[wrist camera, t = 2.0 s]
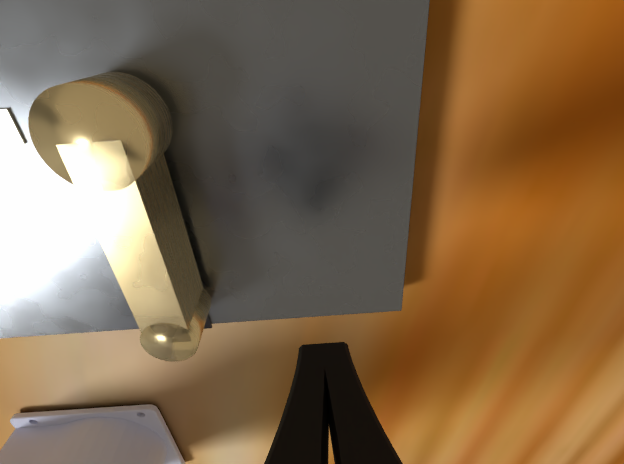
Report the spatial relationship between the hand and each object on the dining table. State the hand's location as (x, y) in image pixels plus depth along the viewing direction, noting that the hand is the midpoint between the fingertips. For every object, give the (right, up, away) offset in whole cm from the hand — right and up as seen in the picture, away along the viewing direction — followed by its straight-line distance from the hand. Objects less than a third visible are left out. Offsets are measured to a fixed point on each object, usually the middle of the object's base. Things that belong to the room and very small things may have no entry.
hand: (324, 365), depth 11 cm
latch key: (-6, +5, +3) cm, 8 cm away
